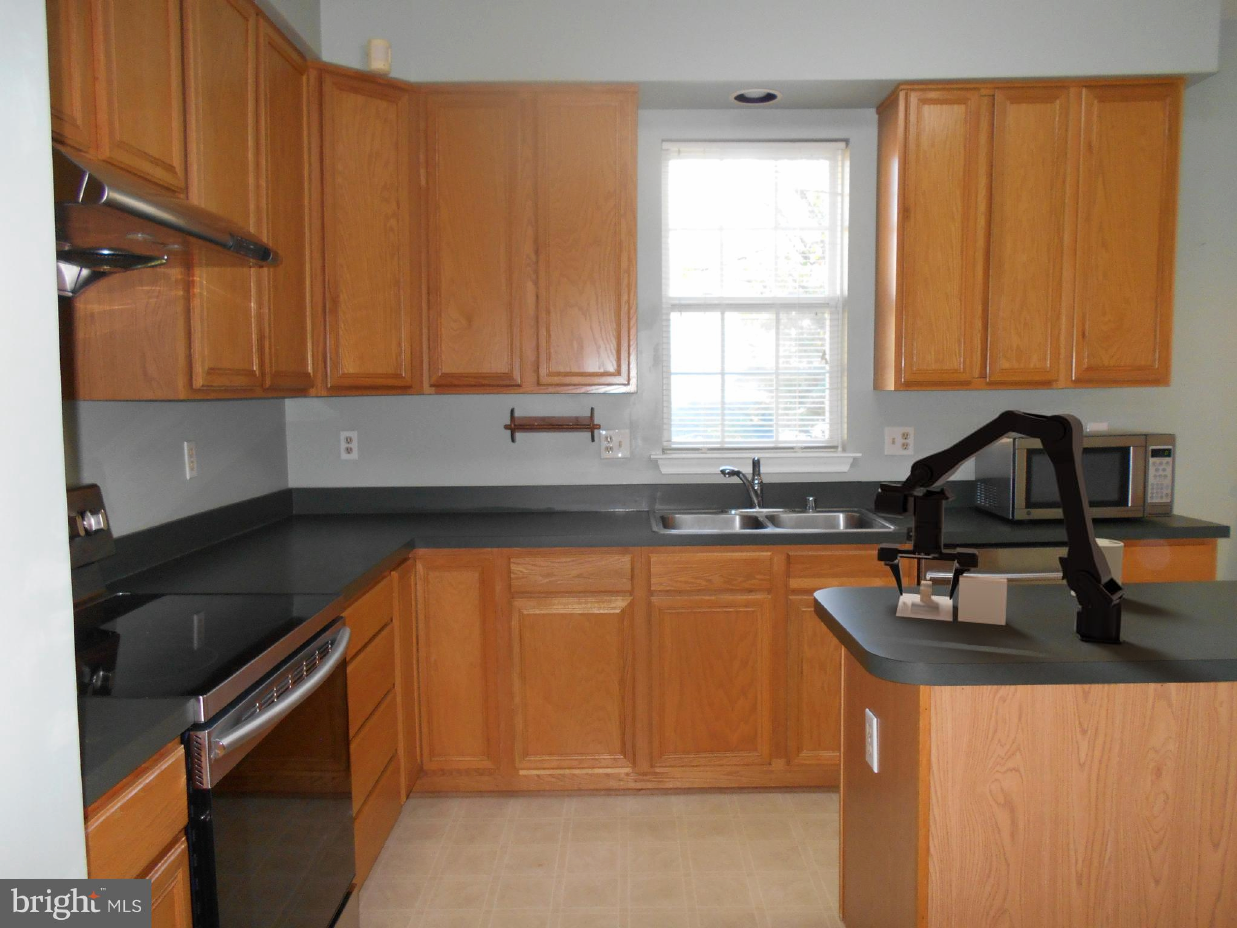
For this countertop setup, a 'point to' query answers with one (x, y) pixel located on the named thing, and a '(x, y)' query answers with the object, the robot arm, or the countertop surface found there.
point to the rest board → (943, 614)
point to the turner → (925, 601)
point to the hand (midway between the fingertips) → (925, 597)
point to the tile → (982, 599)
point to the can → (1112, 557)
